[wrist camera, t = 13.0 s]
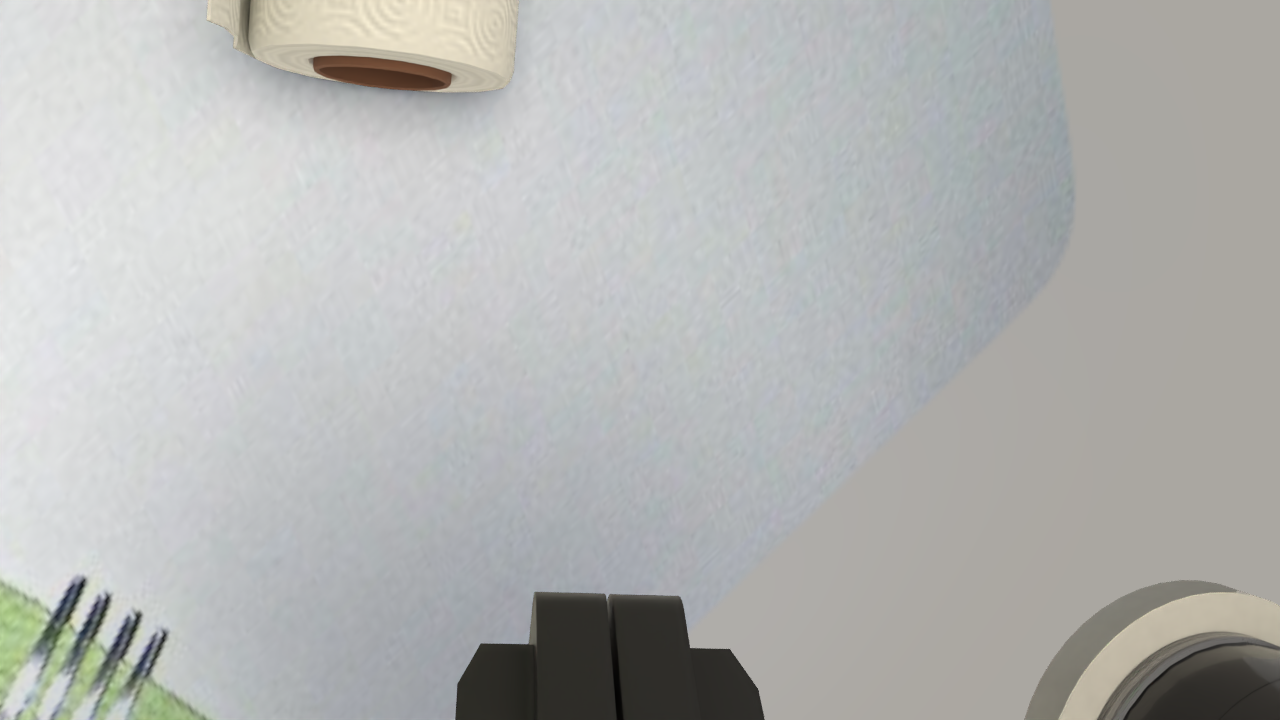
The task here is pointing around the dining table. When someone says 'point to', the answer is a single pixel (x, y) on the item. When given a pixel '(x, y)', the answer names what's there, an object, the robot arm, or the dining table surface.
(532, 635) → the robot arm
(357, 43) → the paper towel roll
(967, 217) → the dining table surface
